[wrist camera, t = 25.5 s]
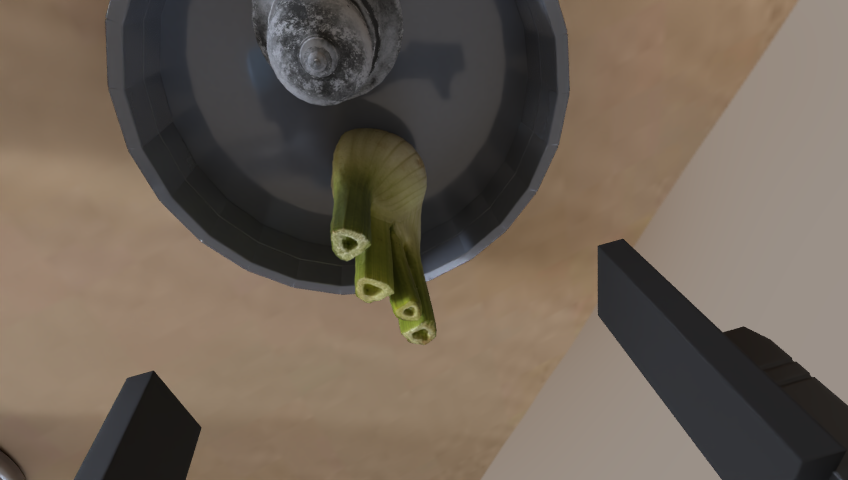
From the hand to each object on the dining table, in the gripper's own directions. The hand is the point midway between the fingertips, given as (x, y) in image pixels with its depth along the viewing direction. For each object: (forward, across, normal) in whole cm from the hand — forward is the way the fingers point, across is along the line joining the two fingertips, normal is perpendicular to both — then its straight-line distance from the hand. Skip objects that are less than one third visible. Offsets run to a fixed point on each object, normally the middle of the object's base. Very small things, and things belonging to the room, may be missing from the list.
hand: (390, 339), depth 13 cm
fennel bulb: (+14, +1, 0) cm, 14 cm away
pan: (+14, +1, +4) cm, 15 cm away
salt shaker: (+14, +1, +8) cm, 16 cm away
